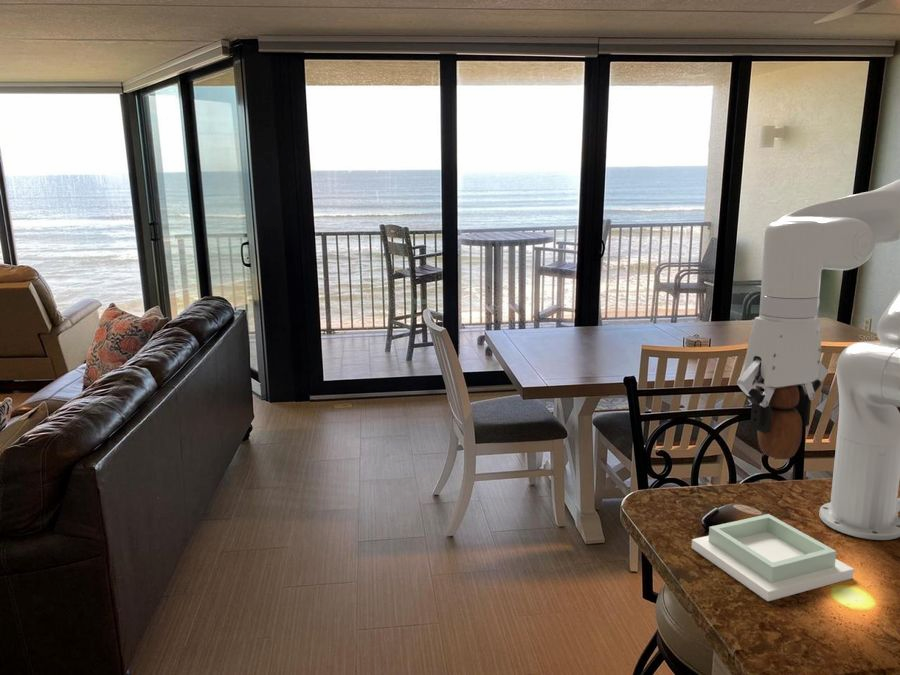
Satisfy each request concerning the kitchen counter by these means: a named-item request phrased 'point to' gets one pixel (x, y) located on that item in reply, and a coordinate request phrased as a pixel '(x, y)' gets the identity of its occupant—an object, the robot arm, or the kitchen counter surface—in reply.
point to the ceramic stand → (771, 557)
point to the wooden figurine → (782, 425)
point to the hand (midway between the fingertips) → (779, 425)
